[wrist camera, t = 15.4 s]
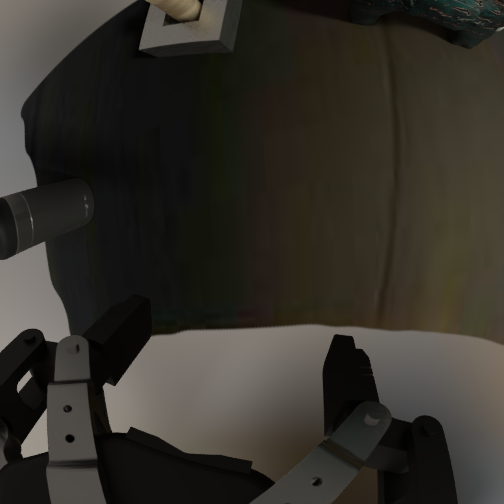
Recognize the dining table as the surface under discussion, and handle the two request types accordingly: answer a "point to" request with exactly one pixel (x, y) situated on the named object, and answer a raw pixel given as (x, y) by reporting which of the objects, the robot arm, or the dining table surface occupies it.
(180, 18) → the wooden peg
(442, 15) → the ceramic cat
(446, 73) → the dining table surface
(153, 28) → the socket block
